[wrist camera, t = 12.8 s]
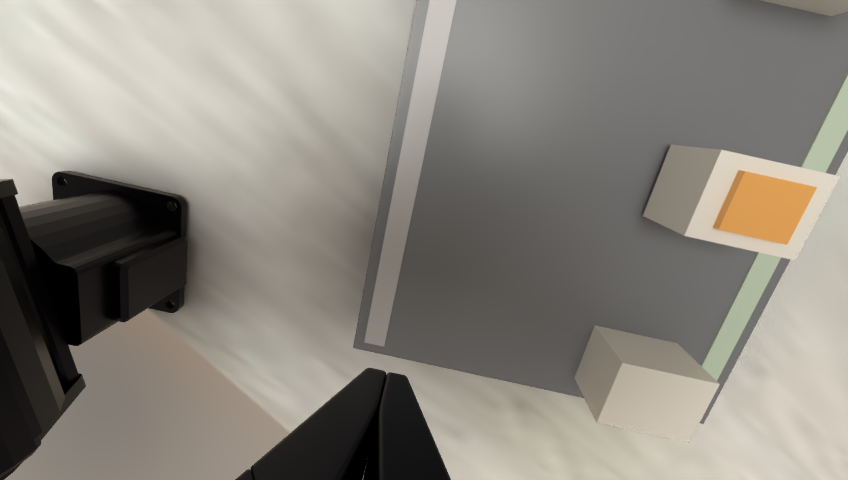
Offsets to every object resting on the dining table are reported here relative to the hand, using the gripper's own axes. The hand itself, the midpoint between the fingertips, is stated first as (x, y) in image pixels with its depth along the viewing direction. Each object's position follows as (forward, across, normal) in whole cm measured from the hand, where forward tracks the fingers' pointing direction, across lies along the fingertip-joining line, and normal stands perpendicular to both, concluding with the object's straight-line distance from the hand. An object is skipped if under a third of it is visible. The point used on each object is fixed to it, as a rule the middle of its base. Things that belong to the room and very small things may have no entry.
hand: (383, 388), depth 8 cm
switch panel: (+12, -7, -5) cm, 15 cm away
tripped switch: (+10, -11, -5) cm, 15 cm away
